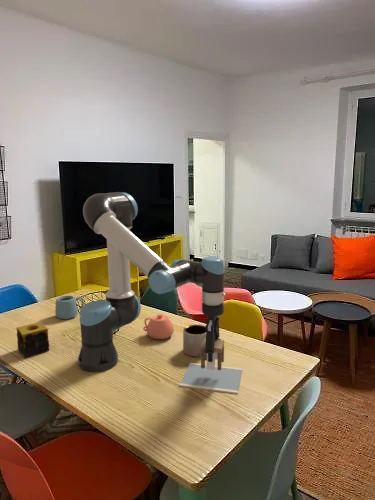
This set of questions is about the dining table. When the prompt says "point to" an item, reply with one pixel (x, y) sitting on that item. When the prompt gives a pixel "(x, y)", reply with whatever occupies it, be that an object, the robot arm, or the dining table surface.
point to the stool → (217, 349)
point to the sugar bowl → (159, 327)
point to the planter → (193, 339)
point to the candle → (32, 339)
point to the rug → (212, 378)
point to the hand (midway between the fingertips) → (212, 363)
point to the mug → (67, 307)
